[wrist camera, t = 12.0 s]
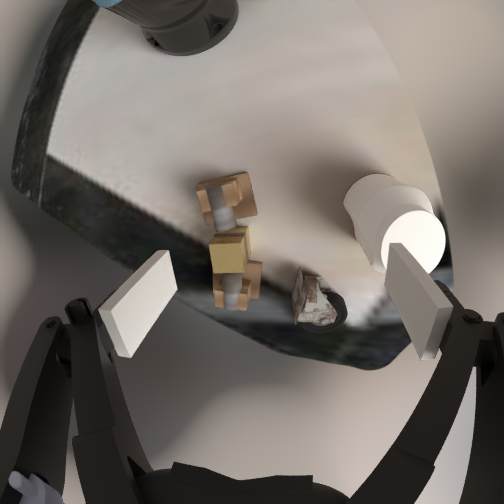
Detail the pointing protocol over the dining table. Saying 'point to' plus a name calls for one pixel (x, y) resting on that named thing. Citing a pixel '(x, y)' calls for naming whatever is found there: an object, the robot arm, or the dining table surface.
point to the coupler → (230, 250)
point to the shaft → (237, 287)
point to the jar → (394, 221)
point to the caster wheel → (317, 304)
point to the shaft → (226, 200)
